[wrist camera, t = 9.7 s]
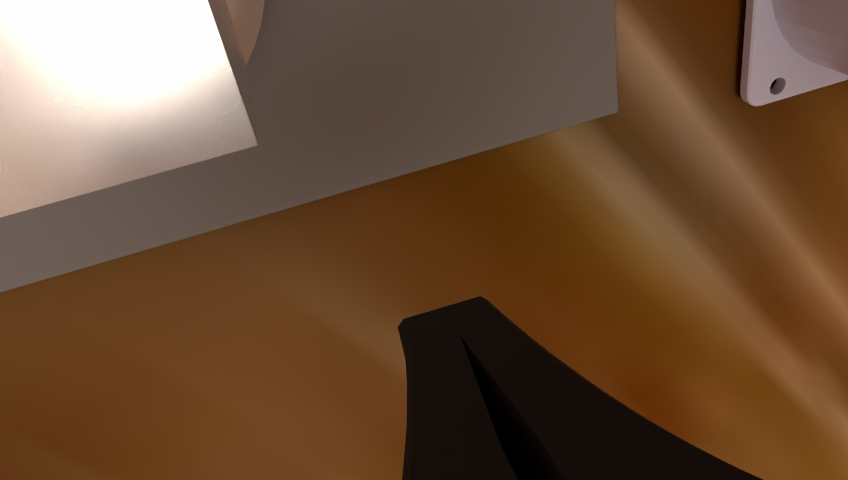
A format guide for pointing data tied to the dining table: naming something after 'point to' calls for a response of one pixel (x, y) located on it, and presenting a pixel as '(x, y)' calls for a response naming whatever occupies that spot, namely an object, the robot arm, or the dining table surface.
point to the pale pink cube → (114, 93)
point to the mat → (347, 117)
